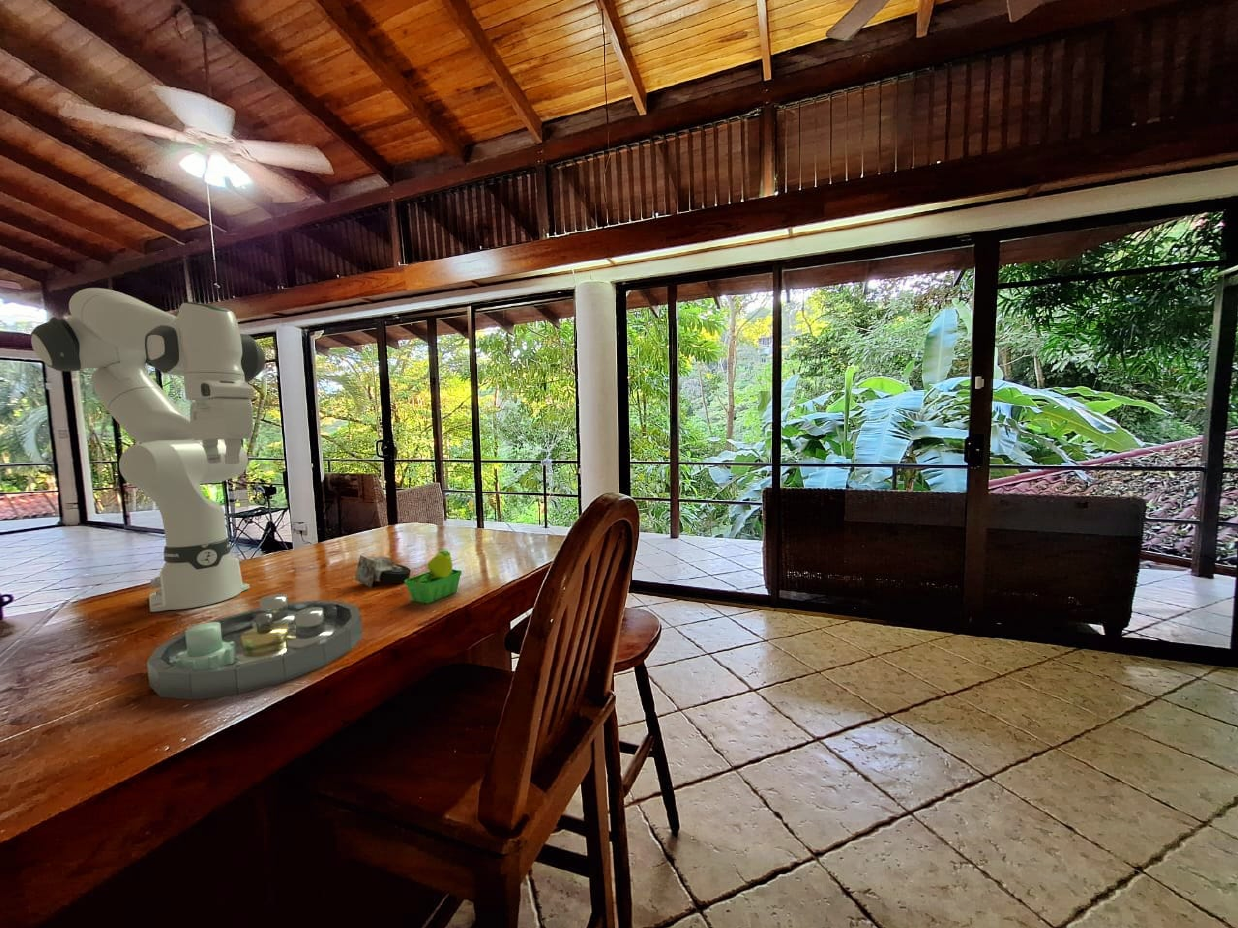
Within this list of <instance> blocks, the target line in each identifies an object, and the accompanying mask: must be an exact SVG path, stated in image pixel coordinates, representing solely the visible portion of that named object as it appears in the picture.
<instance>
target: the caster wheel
mask: <svg viewBox="0 0 1238 928" xmlns="http://www.w3.org/2000/svg"><path fill="white" fill-rule="evenodd" d="M355 572H356V573H355V578H354V581H357V582H358V583H360V584H362V585H364V586H366V587H368V588H372V587H373V583H374V582H380V583H381V582H384V583H387V584H403V583H405V580H407V579H410V575H411V569H410V567H408V566H406V565H405V566H404V565H402V564H397V563H395V562H394V560H393V559H392V558H390V557H387V556H377V557H370V558H368V557H365V556H363V555H359V559H358V563H357V568H356V571H355Z"/></svg>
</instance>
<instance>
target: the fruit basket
mask: <svg viewBox="0 0 1238 928" xmlns="http://www.w3.org/2000/svg"><path fill="white" fill-rule="evenodd" d="M427 569H428V570H429V571H427V572H424V573H421V574H419V575H415V576H413V577H412V576H411V577H409V579H407V580H405V582H404V583H405V585H406V586H407V588H408V592H409V594H410V597H411V600H412V602H418V603H421V604H422V603H423V604H424V603H425V604H431V603H433V602H435V601H438V600H440V599H442V598H444V597H447V596H449V595H451V594H455V593H457V591H458V587H459V583H460V580H461V579H460V578H461V576H462V574H463V571H462V570H457V569H453V561H452V557H451V552H449V551H448V550H441V551H439V552H438V553H437V554H435V556H434V557H432V558H431V559H430V560H429V561H428V563H427Z"/></svg>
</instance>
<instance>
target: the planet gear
mask: <svg viewBox="0 0 1238 928" xmlns="http://www.w3.org/2000/svg"><path fill="white" fill-rule="evenodd" d="M184 632H185V635H186V644H187V651H186V652H180V653H179V654H177V655H176V658H177V659H175V660H174V667H179V668H191V669H205V668H214V667H223V666H225V665H227V664H232V663H233V662H234V661H235V657H236V648H235V642H233V641H231V642H223V641H222V636H221V626H220V623H219V622H211V621H210V623H209V622H204V623H200V624H197V625H194V626H191V627H189V628H187V629H186V630H185V631H184Z"/></svg>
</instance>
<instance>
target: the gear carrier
mask: <svg viewBox="0 0 1238 928" xmlns="http://www.w3.org/2000/svg"><path fill="white" fill-rule="evenodd" d="M288 601H289V600H288V594H287V593H274V594H270V595H267V596H263V597H261V598H260V599H259V608H255V609H250V610H246V611H242V612H238V613H235V614H232V615H228V616H225V617H220V618H217V619H214V620H211V621H210V622H219V623H220V626H221V636H222V641H223V642H231V641H233V642H235V648H236V657H235V661H234V662H233V663H232V664H227V665H225V666H223V667H214V668H205V669H191V668H179V667H174V660H175V659H177V658H176V655H177V654H179V653H180V652H186V651H187V644H186V635H185V631H184V632H181V633H180V634H177V635H176V636H174V637H173V638H171V639H169V640H168V641H165V642H164V643H162V644H160V645H159V646H157V647H156V648H155V649H154V651H153V652H152V654H151V655H150V656H149V658H148V659H147V661H146V666H147V674H148V683H149V687H150V688H151V689H152V690H153V691H154V692H155V693H156V694H157V695H158V696H159V697H160V698H167V699H176V700H178V699H180V700H189V701H195V700H196V701H197V700H205V699H212V698H220V697H229V696H237V695H241V694H244V693H249V692H252V691H256V690H257V691H258V690H260V689H264V688H269V687H272V686H275V685H276V686H277V685H279V684H283V683H286V682H289V681H291V680H294V679H297V678H298V677H301V676H304V675H306V674H309V673H311V672H314V671H316V670H318V669H321V668H323V667H326V666H328V665H329V664H331V663H333V662H334V661H336V660H337V659H339V658H341V657H342V656H344V655H345V654H347V653H349V652H350V651H352V650H353V648H354V647H355V646H356V645H357V644H358V642H359V641H360V640H361V638H362V637H363V627H362V626H363V625H362V615H361V612H360V609H359V607H358V606H357V605H353V604H351V603H348V602H345V601H339V600H338V601H337V600H320V599H319V600H317V599H316V600H308V601H298V602H297V601H296V602H288ZM210 622H208V623H210Z"/></svg>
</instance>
